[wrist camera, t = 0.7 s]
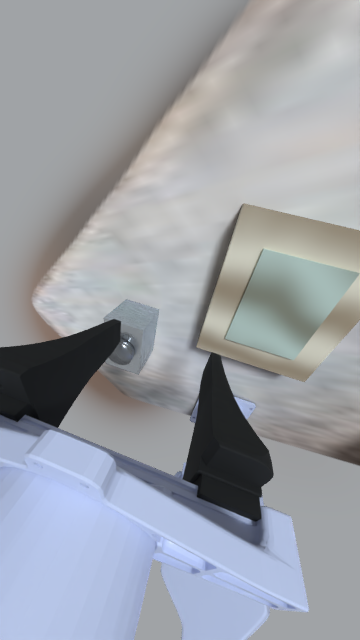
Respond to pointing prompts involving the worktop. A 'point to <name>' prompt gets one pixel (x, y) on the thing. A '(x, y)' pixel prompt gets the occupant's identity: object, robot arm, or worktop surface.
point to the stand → (284, 292)
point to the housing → (133, 335)
